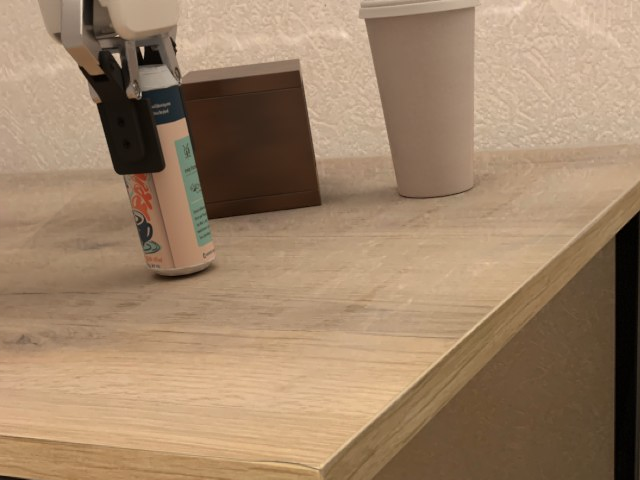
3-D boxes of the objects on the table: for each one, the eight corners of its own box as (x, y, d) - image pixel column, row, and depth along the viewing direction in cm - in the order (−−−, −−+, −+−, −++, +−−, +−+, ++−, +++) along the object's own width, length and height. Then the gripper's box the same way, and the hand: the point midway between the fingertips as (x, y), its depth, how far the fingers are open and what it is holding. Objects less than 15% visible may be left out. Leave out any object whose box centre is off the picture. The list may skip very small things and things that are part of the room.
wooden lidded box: (203, 219, 76) (172, 84, 70) (215, 191, 87) (188, 71, 81) (321, 204, 77) (299, 69, 71) (318, 178, 87) (299, 58, 82)
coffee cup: (513, 184, 76) (503, -31, 68) (419, 207, 72) (395, -19, 64) (450, 173, 83) (434, -25, 74) (361, 193, 79) (332, -13, 71)
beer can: (143, 266, 64) (91, 71, 57) (210, 254, 65) (167, 61, 58) (153, 282, 60) (98, 75, 53) (224, 269, 61) (179, 65, 54)
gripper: (71, -181, 55) (151, 145, 66) (-91, -225, 42) (42, 196, 52) (187, -196, 54) (250, 138, 65) (60, -245, 41) (165, 188, 51)
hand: (156, 161), depth 59 cm, fingers closed on beer can, 4 cm apart
